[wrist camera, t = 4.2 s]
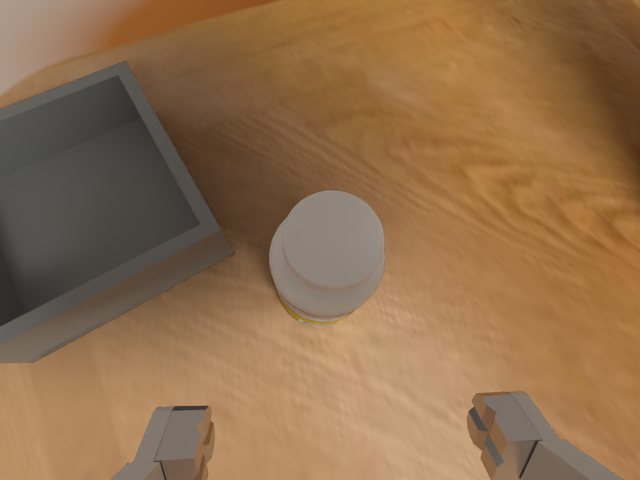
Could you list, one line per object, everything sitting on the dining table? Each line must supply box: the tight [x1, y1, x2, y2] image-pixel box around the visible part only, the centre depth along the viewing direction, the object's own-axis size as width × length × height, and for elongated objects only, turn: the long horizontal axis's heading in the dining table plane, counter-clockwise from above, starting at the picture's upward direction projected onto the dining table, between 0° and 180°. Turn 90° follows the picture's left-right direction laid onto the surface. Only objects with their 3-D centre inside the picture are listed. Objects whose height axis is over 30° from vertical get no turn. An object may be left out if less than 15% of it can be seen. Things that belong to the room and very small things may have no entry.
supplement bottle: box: [269, 190, 385, 327], centre depth 18 cm, size 5×5×10 cm
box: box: [0, 61, 235, 363], centre depth 21 cm, size 13×13×4 cm
